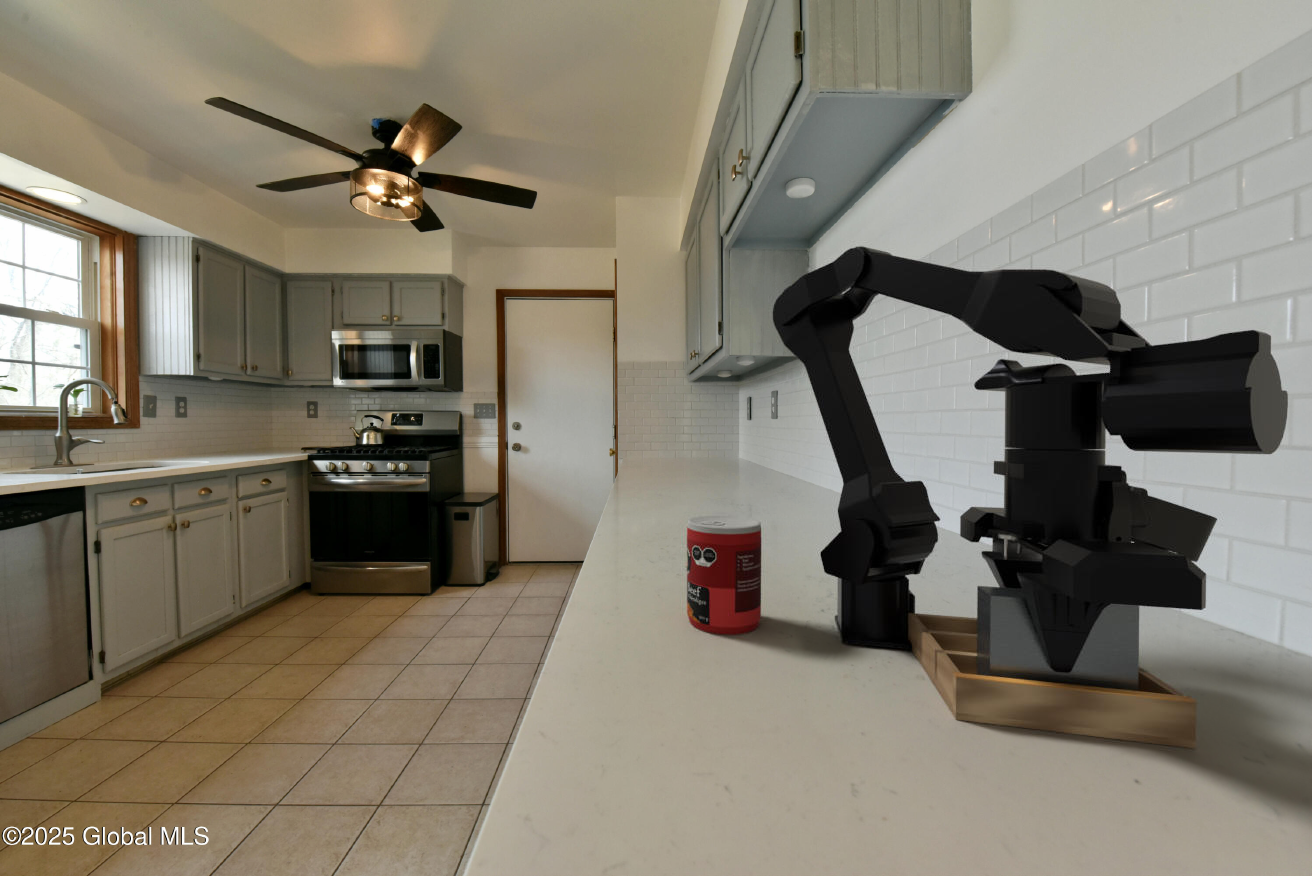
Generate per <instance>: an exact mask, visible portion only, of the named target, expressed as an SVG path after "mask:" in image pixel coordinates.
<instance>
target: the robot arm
mask: <svg viewBox="0 0 1312 876" xmlns="http://www.w3.org/2000/svg"><path fill="white" fill-rule="evenodd" d="M878 295H883V296H886V297H888V298H893V299H896V300H900V301H903V302H905V303H909V304H913V305H917V306H919V307H922V308H926V309H929V310H934V311H936V312H940V313H943V314H947V315H949V316H952V317H954V318H956V319H957V320H959V321H961V322H962V323H964V324H965V325H966V326H967V327H968V328H969V329H970V330H971V331H973V332H974V333H976V334H978V335H980V336H981V337H983V338H986V339H987V340H989V341H991V342H993V343H994V344H995V345H997V346H1000V347H1002V348H1004V349H1006V350H1007V351H1010V352H1012V353H1017V354H1026V355H1034V356H1035V355H1036V356H1043V357H1051V358H1059V359H1062V360H1065V361H1071V362H1075V363H1076V362H1077V363H1078V362H1079V363H1083V364H1084V363H1087V364H1092V365H1103V366H1109V372H1101V373H1100V372H1099V373H1089V374H1088V373H1087V374H1077V373H1076V371H1074V369H1073V368H1072V367H1070V366H1069V365H1068V364H1065V363H1049V364H1040V365H1031V366H1030V365H1029V366H1023V365H1022V364H1021V363H1020V362H1019V361H1018V360H1014V359H1005V358H1004V359H1003V358H1001V359H998V360H997V361H996V362H995V364H994V366H993V367H992V368H990V370H989V371H987V372H986V373H985V374H983V375H982V376H981V377H980V378H978V379H977V380H976V381H975V382H974V384H973V385H974V388H975V390H977V391H987V392H988V391H991V392H1004V460H993V474H995V475H999V476H1003V484H1004V485H1003V488H1004V489H1003V491H1004V492H1003V507H990V506H989V507H988V506H987V507H986V506H971V507H969V509H967V510H966V511H964V512H963V513H962V514H961V515H960V516H959V517H960V518H959V519H960V523H959V524H960V530H959V533H960V534H959V536H960V537H961V538H963V539H964V540H967V541H968V542H970V543H979V542H980V541H981V538H987V539H992V543H991V545H992V548H991V549H992V551H991V550H984V551H981V553H980V554H981V556H982V559H984V560H985V562H986V564H987V566H988V567H989V569H990V571H991V573H992V575H993V578H994V579H995V581H996V583H997V584H998V587H1003V588H1018V589H1022V591H1023V594H1024V596H1025V599H1026V602H1027V605H1028V608H1029V610H1030V613H1031V616H1032V619H1033V622H1034V625H1035V628H1036V631H1037V634H1038V636H1039V639H1040V642H1041V645H1042V648H1043V650H1044V653H1045V656H1046V658H1047V661H1048V663H1049V666H1050V668H1051V669H1052V670H1053V671H1055V672H1062V673H1070V672H1071V671H1072V669H1073V667H1074V665H1075V663H1076V661H1077V659H1078V657H1079V654H1080V652H1081V650H1082V648H1083V646H1084V644H1085V642H1086V640H1087V638H1088V636H1089V634H1090V632H1091V629H1092V627H1093V626H1094V624H1095V622H1096V620H1097V619H1098V617H1099V616H1100V614H1101V612H1102V611H1103V609H1104V608H1106V607H1107V606H1109V605H1110V604H1121V605H1135V606H1139V607H1150V608H1151V607H1153V608H1165V609H1166V608H1167V609H1182V610H1194V611H1195V610H1196V611H1202V610H1204V609H1206V608H1207V573H1206V572H1205V571H1204V570H1202V569H1201V568H1200V567H1199V566H1198V565H1197V564H1196V563H1198V561H1199V559H1200V557H1201V555H1202V553H1203V550H1204V548H1205V546H1206V544H1207V542H1208V541H1209V540H1208V539H1210V536H1211V534H1212V532H1213V529H1214V527H1215V525H1216V523H1217V521H1218V518H1217V517H1215V516H1213V515H1210V514H1208V513H1203V512H1200V511H1198V510H1194V509H1191V508H1188V507H1185V506H1182V505H1179V504H1176V503H1173V502H1171V501H1167V500H1164V499H1161V498H1158V497H1155V496H1152V495H1149V493H1148V490H1147V489H1146V488H1144V487H1140V486H1139V487H1138V486H1133V485H1130V484H1129V483H1128V482H1127V481H1128V479H1127V472H1126V471H1125V470H1124V469H1122V468H1123V467H1122V465H1115V464H1106V444H1107V443H1106V437H1107V436H1106V434H1107V433H1108V435H1110V436H1115V437H1117V436H1120V439H1121V440H1122V442H1123V444H1124V445H1125V446H1126V447H1127V448H1128V449H1130V450H1131V451H1134V452H1158V453H1160V452H1161V453H1162V452H1163V453H1199V454H1201V453H1206V454H1236V455H1237V454H1238V455H1239V454H1240V455H1241V454H1242V455H1243V454H1244V455H1272V454H1274V453H1275V452H1276V451H1277V450H1278V448H1279V447H1280V446H1281V443H1282V441H1283V438H1284V434H1285V431H1286V427H1287V422H1288V421H1287V420H1288V407H1289V394H1288V393H1289V392H1288V390H1283V388H1282V381H1281V375H1280V371H1279V368H1278V364H1277V362H1276V360H1275V358H1274V356H1273V354H1272V335H1270V334H1269V333H1266V332H1262V331H1259V330H1255V329H1249V330H1241V331H1233V332H1226V333H1221V334H1217V335H1214V336H1211V337H1207V338H1203V339H1197V340H1189V341H1188V340H1187V341H1179V342H1170V343H1163V344H1154V345H1152V344H1151V343H1150V342H1149V341H1148V340H1146V339H1145V338H1144V337H1143V336H1142V335H1141V334H1139V333H1138V332H1137V331H1136V330H1135V329H1134V328H1133V327H1131V325H1129V324H1128V323H1127V322H1126V321H1125V320H1124V319H1123V318H1122V316H1121V315H1122V305H1121V301H1120V300H1119V298H1118V296H1117V292H1116V291H1115V289H1113V288H1112V287H1110V286H1109V285H1107V284H1104V283H1102V282H1100V281H1099V282H1098V281H1095V280H1092V279H1088V278H1085V277H1081V276H1077V275H1073V274H1069V273H1065V272H1061V271H1059V270H1058V271H1057V270H1055V269H1040V268H1039V269H1035V268H1034V269H1025V268H1024V269H1009V268H1007V269H1005V268H1004V269H996V270H987V271H976V270H975V271H974V270H973V271H971V270H970V271H969V270H965V269H960V268H954V267H950V266H949V267H948V266H946V265H945V266H944V265H940V264H935V263H931V262H926V261H920V260H917V259H916V260H915V259H912V258H907V257H901V256H897V255H893V254H891V253H890V252H887V251H884V250H879V249H875V248H871V247H866V246H862V245H861V246H860V245H859V246H855V247H852V248H848V249H847V250H846V251H844V252H843V253H842V254H841V255H839V256H838V257H837V258H836V259H835V260H834V261H832V262H830V263H827V264H825V265H823V266H821V267H818V268H816V269H814V270H812V271H810V272H807V273H806V274H803V275H802V276H800V277H799V278H798V279H797V280H795V281H794V282H793V283H792V284H791V285H788V286H787V287H786V288H785V289H784V290H783V291H782V292H781V294H780V295H779V296H778V297H777V298H776V299H775V302H774V304H773V308H772V320H773V321H772V322H773V325H774V327H775V330H776V331H777V334H778V336H779V337H780V339H781V342H782V344H783V345H784V347H785V348H786V349H788V351H790V353H792V354H793V355H794V357H796V358H797V359H798V360H799V361H800V362H801V363H802V364H803V366H804V367H805V370H806V373H807V376H808V379H809V382H810V385H811V389H812V392H813V395H814V397H815V400H816V401H815V402H816V403H817V406H818V410H819V413H820V416H821V418H822V420H823V421H822V422H823V425H824V428H825V430H826V433H827V437H828V439H829V443H830V446H831V448H832V451H833V454H834V458H835V461H836V464H837V466H838V469H839V472H840V475H841V479H842V483H843V484H842V490H841V492H840V493H841V494H840V497H839V498H840V499H839V503H838V505H837V506H838V507H837V515H838V521H839V527H840V531H839V533H838V534H837V535H836V536H834V537H833V539H832V540H831V541H830V542H829V543H828V544H827V545H826V546H825V547H824V548H823V549H822V550H821V551H820V555H819V556H820V560H821V563H822V567H823V571H824V573H825V574H826V575H830V576H832V577H835V578H837V611H836V612H837V613H836V615H834V622H835V626H836V629H837V631H838V634H839V638H840V641H841V642H842V643H844V644H852V645H860V646H861V645H863V646H871V647H872V646H873V647H881V648H882V647H884V648H893V649H894V648H895V649H904V650H911V649H912V644H911V642H910V640H909V639H908V614H909V613H916V595H915V594H914V593H913V592H912V591H911V590H910V579H909V578H908V577H907V576H911V575H916V576H917V575H920V574H921V571H922V569H923V565H924V564H925V561H926V559H928V557H929V556H930V555H931V554H932V553H933V551H934V548H935V546H936V543H938V542H939V533H938V528H937V525H936V522H937V523H938V522H940V521H941V518H940V516H939V515H938V514H937V513H936V512H935V510H934V509H933V506H932V504H931V501H930V499H929V494H928V489H927V486H926V485H925V484H924V482H923V481H922V480H910V481H906V480H904V478H903V477H901V476H900V474H898V472H897V471H896V470H895V469H894V467H893V465H892V461H891V460H890V457H889V454H888V452H887V448H886V446H885V443H884V441H883V439H882V435H881V432H880V430H879V427H878V425H877V422H876V419H875V416H874V413H873V411H872V409H871V406H870V403H869V401H868V398H867V395H866V393H865V389H864V387H863V384H862V382H861V380H860V377H859V374H858V372H857V369H856V366H855V364H854V361H853V360H854V359H852V356H851V353H850V347H851V346H850V345H851V342H852V339H853V333H854V331H855V326H854V322H853V321H855V320H857V319H858V318H860V317H861V316H862V315H864V314H865V313H866V311H867V310H868V308H869V307H870V305H871V303H872V302H873V300H874V299H875V297H877V296H878Z"/></svg>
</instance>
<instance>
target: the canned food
mask: <svg viewBox="0 0 1312 876" xmlns="http://www.w3.org/2000/svg"><path fill="white" fill-rule="evenodd" d="M686 525H687V526H686V613H687V617H688V620H689V623H690V624H691V625H692V626H693V627H694V628H695V629H698V630H701V631H702V632H706V633H709V634H715V635H724V636H727V635H728V636H734V635H743V634H747V633H750V632H753V631H754V630H756V629H757V628H758V627H759V625H760V622H761V619H762V526H761V522H760V521H759V520H756V519H754V518H750V517H743V516H737V515H736V516H734V515H703V516H695V517H692V518H690V519H688V520H687V524H686Z"/></svg>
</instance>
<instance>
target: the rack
mask: <svg viewBox="0 0 1312 876" xmlns="http://www.w3.org/2000/svg"><path fill="white" fill-rule="evenodd" d="M908 639H909V640H910V642H911V644H912V649H910V650H911V651H912V653H913V655H914V656H915V658H916V659H917V661H918V663H919V664H920V665H921V668H922V669H923V671H924V672H925V673H926V675H927V677H928V679H929V680H930V681H931V683H932V684H933V686H934V688H935V689H936V691H937V692H938V694H939V696H940V697H941V699H942V700H943V702H944V703H945V705H946V706H947V709H949V711H950V713H951V714H952V715H953V718H954V719H955V720H957V721H966V722H973V723H974V722H975V723H982V724H989V725H990V724H991V725H997V726H1007V727H1014V728H1015V727H1016V728H1023V729H1031V730H1041V731H1048V732H1058V733H1063V734H1064V733H1065V734H1073V735H1081V736H1088V737H1089V736H1090V737H1096V738H1104V739H1113V740H1120V741H1121V740H1122V741H1131V742H1137V743H1148V744H1155V745H1162V746H1163V745H1165V746H1170V747H1179V748H1186V749H1187V748H1188V749H1197V746H1196V743H1197V740H1196V739H1197V736H1196V735H1197V701H1196V700H1195V699H1193V698H1192V697H1190V696H1187V695H1185V694H1183V693H1181V692H1180V691H1179V690H1177V689H1175V688H1174V687H1172V686H1171V685H1169V684H1168V683H1166V682H1164V681H1163V680H1161V679H1159V678H1158V677H1156V675H1154V674H1152V673H1150V672H1148V671H1147V670H1146V669H1144V668H1142V667H1141V666H1139V676H1138V691H1131V690H1121V689H1111V688H1101V687H1091V686H1082V685H1072V684H1062V683H1052V682H1042V681H1033V680H1023V679H1013V678H1003V677H993V676H983V675H977V617H964V616H953V615H943V614H940V615H939V614H929V613H926V614H925V613H916V612H915V613H909V614H908Z"/></svg>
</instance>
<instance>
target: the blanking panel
mask: <svg viewBox="0 0 1312 876" xmlns="http://www.w3.org/2000/svg"><path fill="white" fill-rule="evenodd" d="M976 589H977V590H976V591H977V593H976V595H977V597H976V599H977V600H976V601H977V603H976V606H977V607H976V612H977V613H976V615H977V616H976V618H977V675H983V676H993V677H1003V678H1013V679H1023V680H1033V681H1042V682H1052V683H1062V684H1072V685H1082V686H1091V687H1101V688H1111V689H1121V690H1131V691H1138V676H1139V667H1140V665H1139V663H1140V662H1139V659H1140V657H1139V656H1140V655H1139V654H1140V653H1139V651H1140V648H1139V647H1140V606H1135V605H1121V604H1110V605H1109V606H1107V607H1106V608H1104V609H1103V611H1102V612H1101V614H1100V616H1099V617H1098V619H1097V620H1096V622H1095V624H1094V626H1093V627H1092V629H1091V632H1090V634H1089V636H1088V638H1087V640H1086V642H1085V644H1084V646H1083V648H1082V650H1081V652H1080V654H1079V657H1078V659H1077V661H1076V663H1075V665H1074V667H1073V669H1072V671H1071V672H1070V673H1062V672H1055V671H1053V670H1052V669H1051V668H1050V666H1049V663H1048V661H1047V658H1046V656H1045V653H1044V650H1043V648H1042V645H1041V642H1040V639H1039V636H1038V634H1037V631H1036V628H1035V625H1034V622H1033V619H1032V616H1031V613H1030V610H1029V608H1028V605H1027V602H1026V599H1025V596H1024V594H1023V591H1022V589H1018V588H1003V587H999V586H985V585H984V586H983V585H977V588H976Z"/></svg>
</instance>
